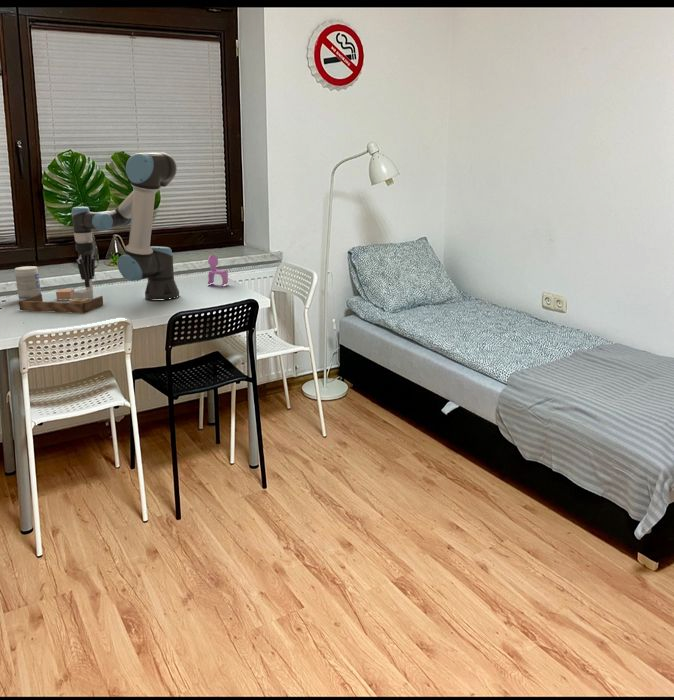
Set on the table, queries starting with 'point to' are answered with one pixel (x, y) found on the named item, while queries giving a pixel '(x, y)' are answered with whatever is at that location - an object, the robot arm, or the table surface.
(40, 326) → the table surface
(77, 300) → the oak tile
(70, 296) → the terracotta tile
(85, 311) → the frame
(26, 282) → the supplement tub
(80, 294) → the grey tile
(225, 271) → the toy chair
